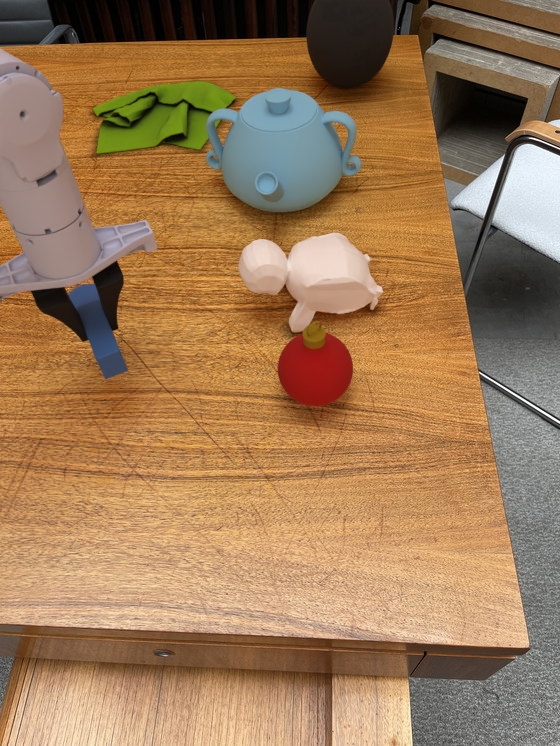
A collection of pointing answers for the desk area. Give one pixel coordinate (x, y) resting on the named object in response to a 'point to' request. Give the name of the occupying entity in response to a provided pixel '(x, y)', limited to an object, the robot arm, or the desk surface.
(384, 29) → the decorative egg
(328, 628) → the desk surface
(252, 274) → the white animal figurine
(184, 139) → the cloth
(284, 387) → the christmas ornament
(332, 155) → the teapot
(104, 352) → the blue long-handled part
